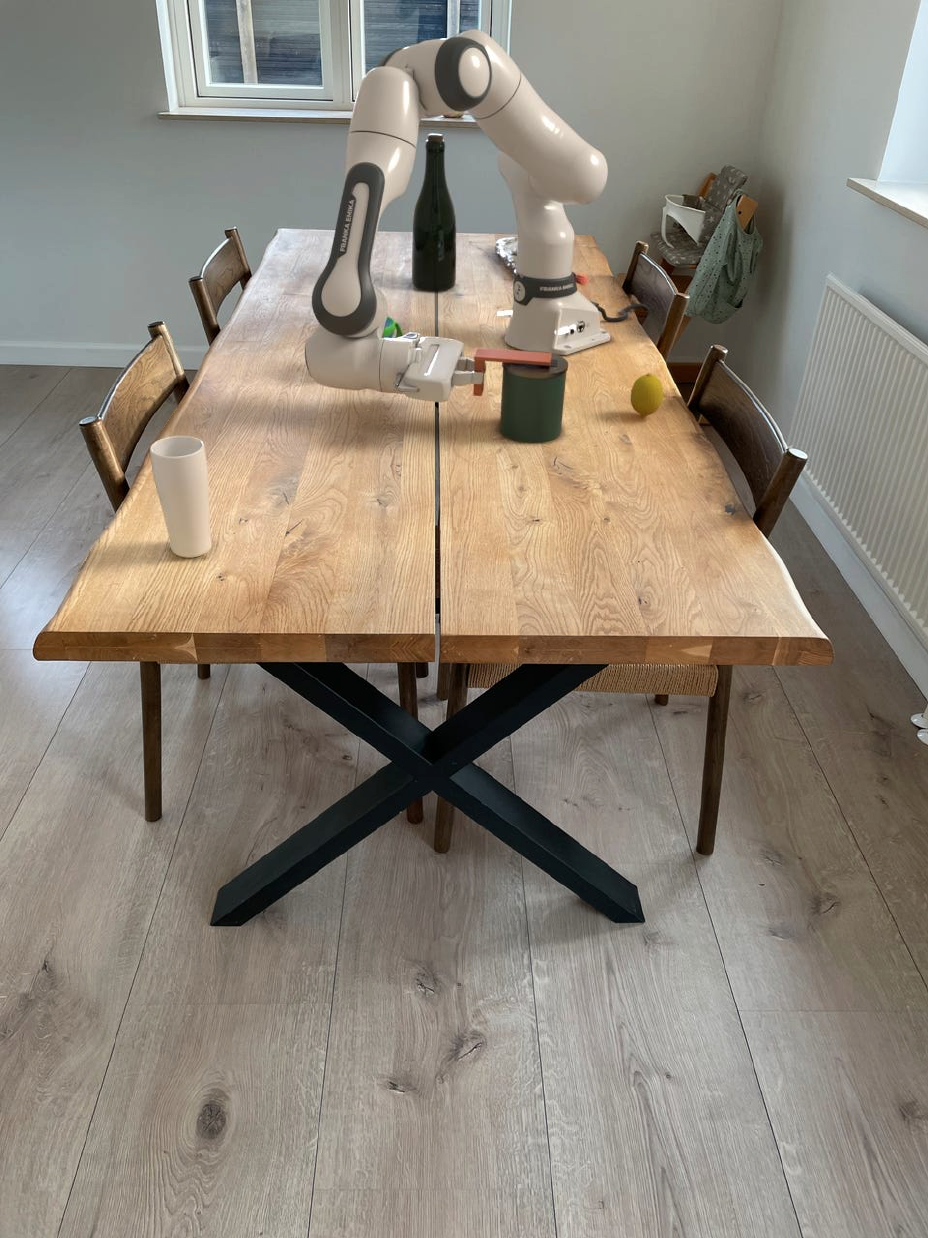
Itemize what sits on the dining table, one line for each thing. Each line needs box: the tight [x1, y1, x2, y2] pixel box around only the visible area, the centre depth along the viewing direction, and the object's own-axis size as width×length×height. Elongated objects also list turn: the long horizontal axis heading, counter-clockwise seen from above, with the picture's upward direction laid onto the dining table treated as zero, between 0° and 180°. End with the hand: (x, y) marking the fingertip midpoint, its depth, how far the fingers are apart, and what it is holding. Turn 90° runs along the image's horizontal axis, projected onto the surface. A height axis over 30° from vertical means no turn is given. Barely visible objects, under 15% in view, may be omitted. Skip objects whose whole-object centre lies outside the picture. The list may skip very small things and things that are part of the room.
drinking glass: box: [149, 435, 213, 559], centre depth 129 cm, size 7×7×15 cm
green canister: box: [499, 351, 569, 444], centre depth 166 cm, size 11×11×12 cm
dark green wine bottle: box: [411, 133, 457, 292], centre depth 228 cm, size 10×10×33 cm
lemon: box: [630, 372, 664, 418], centre depth 173 cm, size 6×6×8 cm
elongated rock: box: [495, 236, 518, 277], centre depth 254 cm, size 35×5×10 cm
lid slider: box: [472, 347, 552, 397], centre depth 164 cm, size 12×4×7 cm, turn 83°
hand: (484, 372), depth 165 cm, fingers closed on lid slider, 3 cm apart
